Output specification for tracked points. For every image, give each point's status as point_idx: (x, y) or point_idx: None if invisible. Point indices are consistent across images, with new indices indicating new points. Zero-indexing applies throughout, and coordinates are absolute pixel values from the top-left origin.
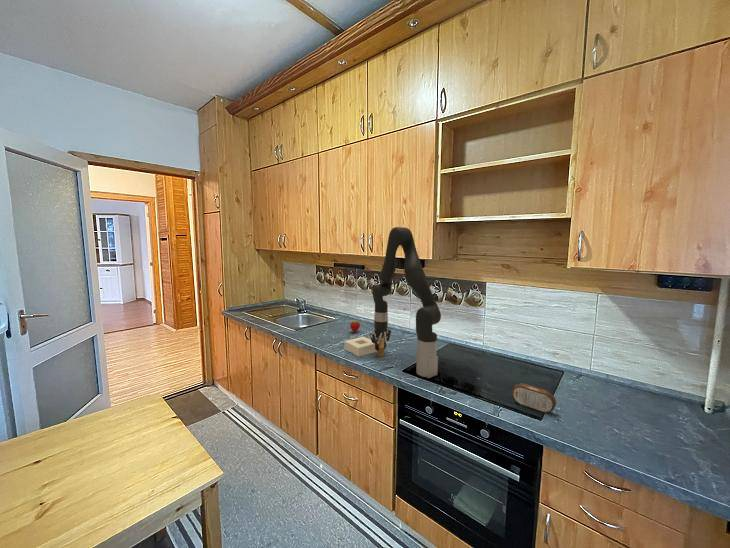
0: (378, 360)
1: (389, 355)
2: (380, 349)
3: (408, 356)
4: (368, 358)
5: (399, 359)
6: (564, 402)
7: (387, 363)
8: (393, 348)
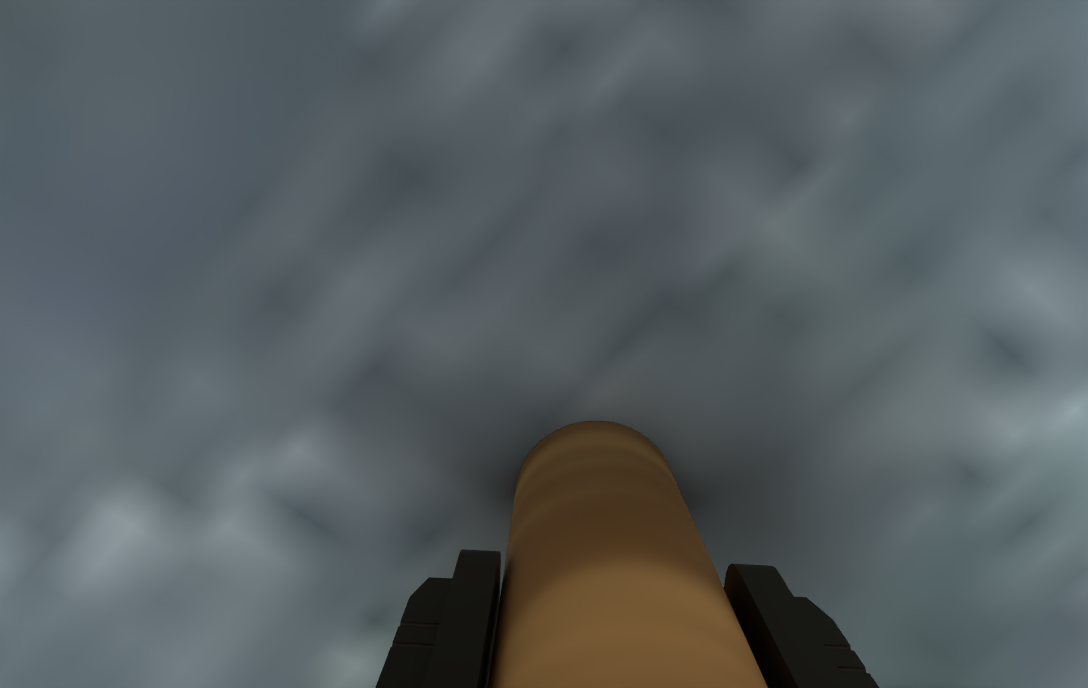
0: (820, 335)
1: (417, 389)
2: (696, 554)
3: (49, 46)
4: (893, 541)
5: (378, 52)
6: None
7: (800, 60)
8: (89, 606)
